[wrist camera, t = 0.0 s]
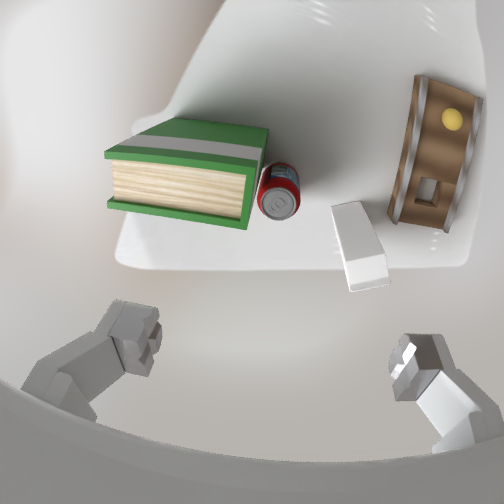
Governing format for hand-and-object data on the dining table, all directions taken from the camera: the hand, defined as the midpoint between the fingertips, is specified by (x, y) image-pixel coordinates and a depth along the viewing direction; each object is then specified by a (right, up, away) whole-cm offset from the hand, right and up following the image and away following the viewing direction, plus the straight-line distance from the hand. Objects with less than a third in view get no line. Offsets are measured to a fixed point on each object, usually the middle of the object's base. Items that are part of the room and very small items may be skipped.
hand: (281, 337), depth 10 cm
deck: (+33, +21, +39) cm, 56 cm away
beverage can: (+4, +16, +47) cm, 50 cm away
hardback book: (-7, +23, +44) cm, 50 cm away
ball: (+33, +25, +31) cm, 52 cm away
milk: (+18, +10, +49) cm, 53 cm away
